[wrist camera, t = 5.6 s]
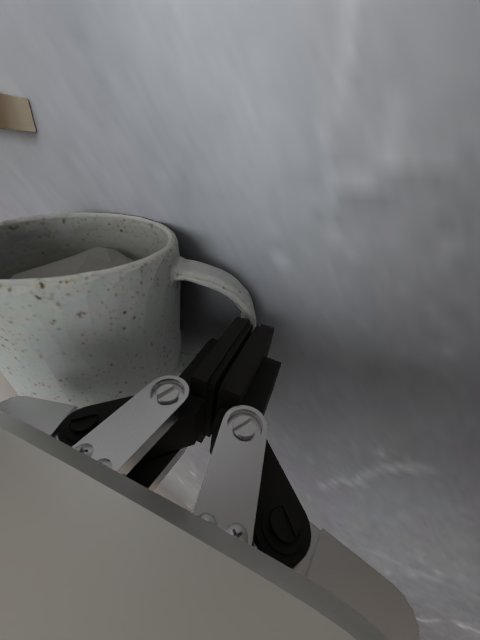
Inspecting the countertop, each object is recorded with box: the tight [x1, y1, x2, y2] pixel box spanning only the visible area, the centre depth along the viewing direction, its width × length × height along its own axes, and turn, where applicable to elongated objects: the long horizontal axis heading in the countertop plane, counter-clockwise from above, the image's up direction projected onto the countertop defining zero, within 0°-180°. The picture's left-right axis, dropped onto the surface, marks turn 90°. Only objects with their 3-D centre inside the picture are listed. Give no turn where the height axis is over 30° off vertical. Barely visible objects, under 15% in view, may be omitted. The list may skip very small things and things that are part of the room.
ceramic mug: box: [0, 212, 256, 409], centre depth 11 cm, size 11×8×8 cm
